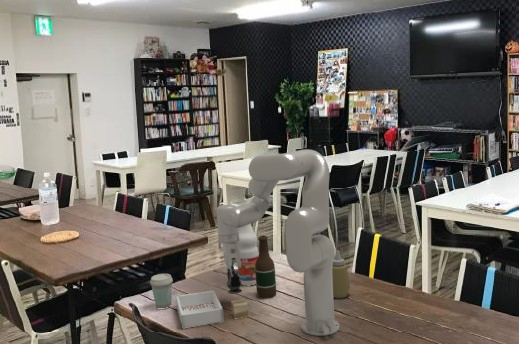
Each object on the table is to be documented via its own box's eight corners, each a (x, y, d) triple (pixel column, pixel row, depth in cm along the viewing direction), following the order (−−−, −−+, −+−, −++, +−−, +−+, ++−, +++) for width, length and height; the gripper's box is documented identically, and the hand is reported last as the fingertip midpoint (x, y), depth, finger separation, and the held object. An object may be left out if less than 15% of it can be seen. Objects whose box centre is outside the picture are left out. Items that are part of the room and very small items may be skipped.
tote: (223, 322, 188) (222, 308, 187) (182, 329, 184) (181, 315, 184) (214, 302, 207) (213, 290, 206) (177, 308, 203) (175, 296, 203)
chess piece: (240, 294, 200) (237, 262, 198) (225, 294, 201) (222, 263, 200) (244, 288, 205) (241, 258, 204) (229, 289, 207) (226, 259, 205)
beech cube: (248, 317, 191) (247, 303, 191) (234, 319, 190) (233, 306, 189) (245, 312, 196) (244, 299, 195) (232, 314, 195) (231, 301, 194)
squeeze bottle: (344, 301, 200) (341, 254, 197) (325, 297, 205) (323, 252, 202) (354, 294, 206) (352, 249, 204) (335, 290, 211) (333, 246, 209)
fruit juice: (263, 279, 229) (259, 216, 225) (256, 287, 220) (251, 221, 217) (243, 278, 232) (238, 215, 229) (235, 285, 224) (230, 220, 220)
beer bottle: (277, 291, 214) (273, 233, 211) (275, 298, 207) (272, 238, 203) (257, 292, 215) (254, 234, 212) (255, 299, 207) (251, 239, 204)
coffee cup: (170, 311, 201) (167, 280, 200) (149, 310, 203) (146, 280, 201) (178, 302, 209) (175, 273, 208) (157, 302, 211) (154, 273, 210)
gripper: (243, 241, 193) (248, 289, 195) (234, 231, 210) (239, 276, 212) (223, 244, 192) (228, 292, 194) (215, 234, 208) (220, 279, 210)
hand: (234, 283), depth 203 cm, fingers closed on chess piece, 5 cm apart
